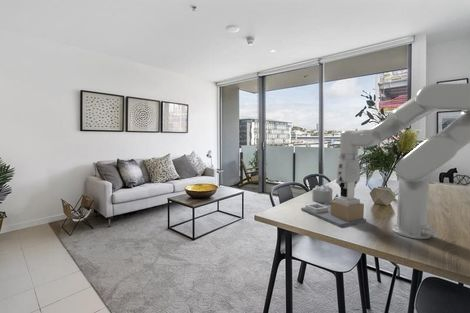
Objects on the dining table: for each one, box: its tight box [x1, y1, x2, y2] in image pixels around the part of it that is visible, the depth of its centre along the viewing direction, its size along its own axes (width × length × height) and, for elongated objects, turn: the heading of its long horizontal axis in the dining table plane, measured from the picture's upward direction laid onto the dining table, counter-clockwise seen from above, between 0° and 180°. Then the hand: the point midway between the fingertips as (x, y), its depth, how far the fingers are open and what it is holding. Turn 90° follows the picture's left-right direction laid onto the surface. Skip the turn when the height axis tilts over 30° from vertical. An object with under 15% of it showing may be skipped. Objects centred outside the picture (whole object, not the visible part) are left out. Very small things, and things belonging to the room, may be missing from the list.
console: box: [301, 195, 367, 228], centre depth 117 cm, size 26×16×10 cm, turn 23°
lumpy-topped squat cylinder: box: [311, 184, 333, 204], centre depth 146 cm, size 10×13×9 cm
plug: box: [340, 182, 355, 200], centre depth 112 cm, size 5×4×10 cm
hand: (347, 195), depth 111 cm, fingers closed on plug, 4 cm apart
